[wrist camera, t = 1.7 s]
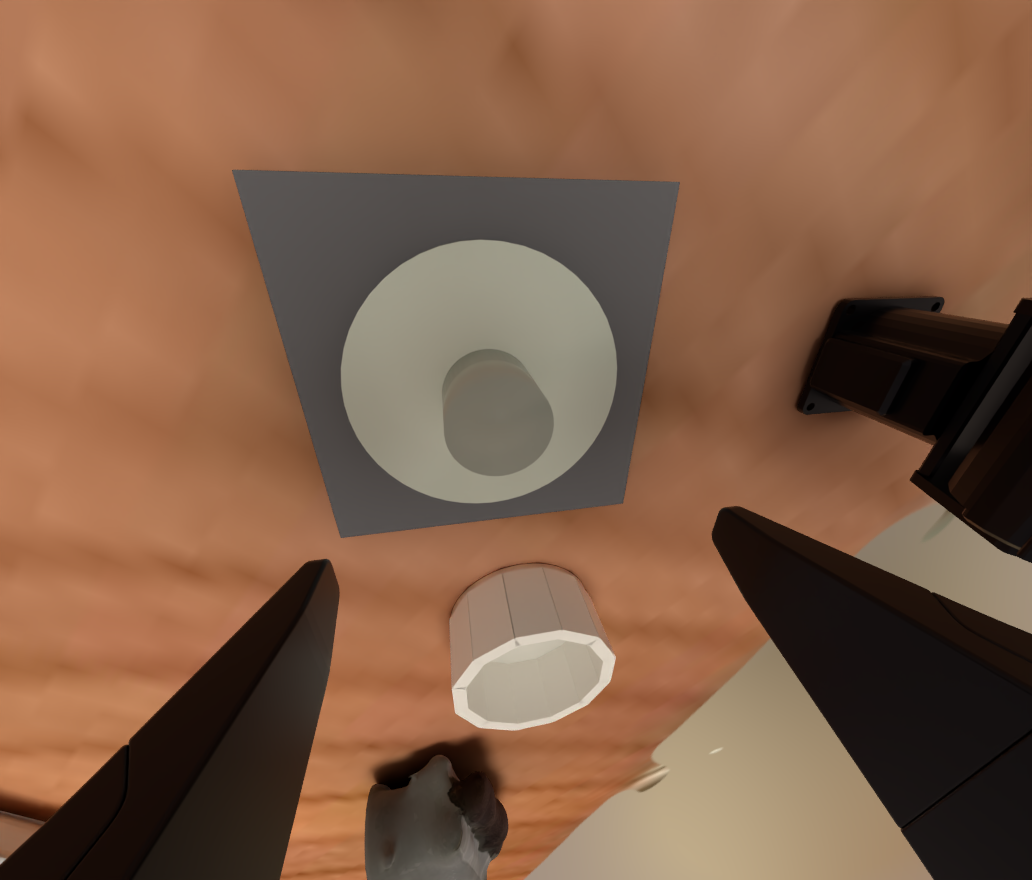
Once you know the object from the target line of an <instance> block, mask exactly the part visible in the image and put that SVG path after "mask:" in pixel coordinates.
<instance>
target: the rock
mask: <svg viewBox="0 0 1032 880" xmlns="http://www.w3.org/2000/svg"><path fill="white" fill-rule="evenodd" d="M408 778H411V780H410V782H409V785H408V786H406V787H403V788H400V789H395V790H390V788H389V787H388V786H385V785H383V784H375V785H373V786H372V788H371V790H370V793H369V796H368V802H367V808H366V819H365V870H366V874H367V880H487V868H488V865H489V863H490V862H491V861H492V860H493V859H494V858H496V857H497V856H498V854H499V853H500V850H501V848H502V845H503V841H504V840H505V838H506V836H507V832H508V818H507V814H506V811H505V809H504V807H503V805H502V804H501V803H500V801H499V800H498V799H497V798H496V797H495V794H494V790H493V787H492V785H491V783H490V781H489V779H488V778H487V777H486V775H485V773H483V772H474V773H472V774H471V775H470V776H468V777H467V778H466V779H465V780H463V781H460V780H459V779H458V778H457V776H456V774H455V772H454V770H453V769H452V765H451V762H450V760H449V759H448V758H447V757H445V756H443V755H436V756H434V757H433V758H432V759H431V760H430V761H429V763H428V764H427V765H426V766H425V767H424V768H423V769H422V770H420V771H419V772H417V773H415V774H413V775H411V776H409V777H408Z"/></svg>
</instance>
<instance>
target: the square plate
mask: <svg viewBox="0 0 1032 880" xmlns="http://www.w3.org/2000/svg"><path fill="white" fill-rule="evenodd" d="M44 823H45V822H43V821H40V820H36V819H32V818H28V817H24V816H20V815H16V814H12V813H8V812H4V811H0V864H1V863H2V862H3V861H4V860H6V859H7V858H8V857H9V856H10V855H11V854H12V853H13V852H14V851H15V850H16V849H17V848H18V847H19V846H21V845H22V844H23V843H24V842H25V841H26V840H27V839H28V838H29V837H30V836H31V835H32V834H33V833H35V832H36V831H37V830H38V829H39V828H40V827H41V826H42V825H43V824H44Z"/></svg>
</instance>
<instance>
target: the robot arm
mask: <svg viewBox="0 0 1032 880" xmlns="http://www.w3.org/2000/svg"><path fill="white" fill-rule="evenodd" d="M943 305H944V299H943V298H942V297H936V296H918V297H885V298H852V299H845V300H843V301H841V302H840V303H839V305H838V306H837V308H836V310H835V312H834V315H833V317H832V320H831V322H830V325H829V327H828V330H827V332H826V335H825V338H824V340H823V343H822V345H821V348H820V350H819V353H818V355H817V358H816V360H815V363H814V365H813V368H812V370H811V373H810V375H809V378H808V380H807V383H806V385H805V388H804V390H803V393H802V395H801V398H800V400H799V403H798V406H797V409H798V411H799V412H801V413H803V414H807V415H808V414H820V413H831V412H842V411H855V412H857V413H859V414H862V415H864V416H866V417H869V418H871V419H873V420H876V421H878V422H880V423H883V424H885V425H887V426H890V427H892V428H894V429H897V430H899V431H901V432H904V433H906V434H908V435H911V436H913V437H915V438H917V439H920V440H922V441H924V442H927V443H929V444H931V445H934V446H933V447H932V449H931V451H930V452H929V454H928V456H927V457H926V459H925V460H924V462H923V464H922V465H921V467H920V468H919V470H915V472H914V473H913V475H912V477H911V478H910V481H911V482H912V483H914V484H915V485H916V486H917V487H919V488H920V489H921V490H923V491H924V492H925V493H926V494H927V495H929V496H930V497H931V498H933V499H934V500H935V501H937V502H938V503H939V504H940V505H942V506H943V507H944V508H946V509H947V510H948V511H950V512H951V513H952V514H953V515H955V516H956V517H957V518H959V519H960V520H961V521H963V522H964V523H965V524H967V525H968V526H969V527H970V528H972V529H973V530H974V531H975V532H977V533H978V534H980V535H981V536H982V537H984V538H985V539H986V540H987V541H989V542H990V543H991V544H993V545H994V546H995V547H997V548H998V549H999V550H1001V551H1003V552H1005V553H1007V554H1010V555H1013V556H1017V557H1019V558H1021V559H1023V560H1026V561H1028V562H1031V563H1032V298H1022V299H1021V300H1020V302H1019V304H1018V305H1017V307H1016V309H1015V310H1014V313H1016V314H1015V316H1014V318H1013V319H1012V321H1011V322H1010V324H1003V323H997V322H991V321H985V320H979V319H973V318H967V317H960V316H954V315H948V314H942V313H940V311H941V309H942V307H943ZM712 540H713V543H714V545H715V546H716V548H717V550H718V552H719V554H720V556H721V557H722V559H723V561H724V563H725V565H726V566H727V568H728V570H729V572H730V574H731V576H732V577H733V579H734V581H735V583H736V585H737V586H738V588H739V590H740V592H741V593H742V595H743V597H744V599H745V600H746V602H747V603H748V605H749V606H750V608H751V610H752V611H753V612H754V614H755V615H756V617H757V618H758V620H759V621H760V623H761V624H762V626H763V627H764V629H765V630H766V632H767V633H768V635H769V636H770V638H771V639H772V641H773V642H774V643H775V645H776V647H777V648H778V649H779V651H780V652H781V654H782V655H783V657H784V658H785V660H786V661H787V663H788V664H789V666H790V667H791V669H792V670H793V671H794V673H795V675H796V676H797V678H798V679H799V681H800V682H801V683H802V685H803V686H804V688H805V689H806V691H807V692H808V694H809V695H810V697H811V698H812V700H813V701H814V703H815V704H816V706H817V707H818V709H819V710H820V712H821V713H822V714H823V716H824V717H825V719H826V720H827V722H828V723H829V725H830V726H831V728H832V729H833V730H834V732H835V734H836V735H837V737H838V738H839V739H840V741H841V743H842V744H843V746H844V747H845V748H846V750H847V752H848V753H849V754H850V756H851V757H852V759H853V760H854V762H855V763H856V765H857V766H858V768H859V769H860V771H861V772H862V774H863V775H864V777H865V778H866V780H867V781H868V783H869V784H870V786H871V787H872V788H873V790H874V791H875V793H876V794H877V796H878V797H879V799H880V800H881V802H882V803H883V805H884V806H885V808H886V809H887V811H888V812H889V814H890V815H891V817H892V818H893V820H894V821H895V823H896V824H897V825H898V827H900V828H901V832H902V833H903V835H904V836H905V838H906V839H907V841H908V842H909V844H910V845H911V847H912V848H913V850H914V851H915V853H916V854H917V855H918V857H919V859H920V860H921V862H922V863H923V864H924V866H925V867H926V869H927V870H928V872H929V873H930V875H931V876H932V878H933V879H934V880H1032V634H1030V633H1028V632H1025V631H1023V630H1021V629H1018V628H1016V627H1013V626H1010V625H1008V624H1006V623H1003V622H1001V621H998V620H996V619H994V618H992V617H989V616H987V615H985V614H982V613H980V612H978V611H975V610H973V609H971V608H968V607H966V606H963V605H961V604H959V603H957V602H955V601H952V600H950V599H948V598H946V597H943V596H941V595H938V594H936V593H933V592H932V593H931V592H930V591H929V590H927V589H925V588H923V587H921V586H918V585H916V584H914V583H912V582H909V581H907V580H905V579H902V578H900V577H898V576H895V575H894V574H891V573H889V572H887V571H884V570H882V569H880V568H878V567H875V566H873V565H871V564H869V563H866V562H864V561H862V560H860V559H857V558H855V557H853V556H851V555H848V554H846V553H844V552H842V551H839V550H837V549H835V548H833V547H830V546H828V545H826V544H824V543H821V542H819V541H817V540H815V539H812V538H810V537H808V536H805V535H803V534H801V533H799V532H796V531H794V530H792V529H790V528H787V527H785V526H783V525H781V524H778V523H776V522H774V521H772V520H769V519H767V518H765V517H763V516H760V515H758V514H756V513H754V512H751V511H749V510H747V509H745V508H742V507H739V506H732V507H725V508H722V509H721V510H720V511H719V513H718V516H717V519H716V522H715V525H714V528H713V531H712ZM338 604H339V585H338V582H337V579H336V576H335V573H334V570H333V566H332V564H331V562H330V561H329V560H328V559H321V560H313V561H309V562H307V563H305V564H304V565H303V566H302V567H301V568H300V569H299V570H298V571H297V572H296V573H295V574H294V575H293V576H292V577H291V578H290V579H289V580H288V581H287V582H286V583H285V584H284V585H283V586H282V587H281V588H280V589H279V590H278V591H277V592H276V593H275V594H274V595H273V596H272V597H271V598H270V599H269V600H268V601H267V602H266V603H265V604H264V605H263V606H262V607H261V608H260V609H259V610H258V611H257V612H256V613H255V614H254V615H253V616H252V617H251V618H250V619H249V620H248V621H247V622H246V623H245V624H244V625H243V626H242V627H241V628H240V629H239V630H238V631H237V632H236V633H235V634H234V635H233V636H232V637H231V638H230V639H229V640H228V641H227V642H226V643H225V644H224V645H223V646H222V647H221V648H220V649H219V650H218V651H217V652H216V653H215V654H214V655H213V656H212V657H211V658H210V659H209V660H208V661H207V662H206V663H205V664H204V665H203V666H202V667H201V668H200V669H199V670H198V671H197V672H196V673H195V674H194V675H193V676H192V677H191V678H190V679H189V680H188V681H187V682H186V683H185V684H184V685H183V686H182V687H181V688H180V689H179V690H178V691H177V692H176V693H175V694H174V695H173V696H172V697H171V698H170V699H169V700H168V701H167V702H166V703H165V704H164V705H163V706H162V707H161V708H160V709H159V710H158V711H157V712H156V713H155V714H154V715H153V716H152V717H151V718H150V719H149V720H148V721H147V722H146V723H145V725H144V726H143V727H142V728H141V729H140V730H139V731H138V732H137V733H136V734H135V735H134V736H133V737H132V738H131V739H130V740H129V745H124V746H122V747H121V748H120V749H119V750H118V751H117V752H116V753H115V754H114V755H113V756H112V757H111V758H110V759H109V760H108V761H107V762H106V763H105V764H104V765H103V766H102V767H101V768H100V769H99V770H98V771H97V772H96V773H95V774H94V775H93V776H92V777H91V778H90V779H89V780H88V781H87V782H86V783H85V784H84V785H83V786H82V787H81V788H80V789H79V790H78V791H77V792H76V793H75V794H74V795H73V796H72V797H71V798H70V799H69V800H68V801H67V802H66V803H65V804H64V805H63V806H62V807H61V808H60V809H59V810H58V811H57V812H56V813H54V814H53V815H52V816H51V817H50V818H49V819H48V820H47V821H46V822H45V823H44V824H43V825H42V826H41V827H40V828H39V829H38V830H37V831H36V832H35V833H33V834H32V835H31V836H30V837H29V838H28V839H27V840H26V841H25V842H24V843H23V844H22V845H21V846H19V847H18V848H17V849H16V850H15V851H14V852H13V853H12V854H11V855H10V856H9V857H8V858H7V859H6V860H4V861H3V862H2V863H1V864H0V880H280V876H281V872H282V867H283V863H284V859H285V855H286V851H287V847H288V843H289V839H290V834H291V830H292V826H293V822H294V818H295V814H296V810H297V805H298V801H299V797H300V793H301V789H302V785H303V781H304V777H305V772H306V768H307V764H308V760H309V756H310V752H311V748H312V744H313V739H314V735H315V731H316V727H317V723H318V719H319V715H320V710H321V706H322V702H323V698H324V694H325V690H326V686H327V681H328V676H329V672H330V665H331V658H332V650H333V642H334V635H335V627H336V619H337V611H338Z"/></svg>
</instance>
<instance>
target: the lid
mask: <svg viewBox="0 0 1032 880" xmlns="http://www.w3.org/2000/svg"><path fill="white" fill-rule="evenodd" d="M616 377H617V359H616V349H615V344H614V339H613V335H612V332H611V329H610V326H609V323H608V320H607V318H606V316H605V314H604V312H603V310H602V308H601V306H600V304H599V303H598V301H597V300H596V298H595V297H594V296H593V294H592V293H591V291H590V290H589V288H588V287H587V286H586V285H585V284H584V283H583V282H582V281H581V280H580V279H579V278H578V277H577V276H576V275H575V274H574V273H572V272H571V271H570V270H569V269H567V268H566V267H565V266H564V265H562V264H561V263H559V262H558V261H556V260H554V259H552V258H551V257H549V256H547V255H545V254H543V253H541V252H539V251H536V250H533V249H531V248H528V247H526V246H522V245H518V244H513V243H509V242H504V241H495V240H481V239H478V240H465V241H457V242H452V243H448V244H444V245H439V246H437V247H434V248H432V249H429V250H427V251H424V252H422V253H419V254H418V255H416V256H414V257H412V258H411V259H409V260H407V261H406V262H404V263H402V264H401V265H400V266H398V267H397V268H396V269H395V270H393V271H392V272H391V273H390V274H388V275H387V276H386V277H385V278H384V279H383V280H382V281H381V282H380V283H379V284H378V285H377V287H376V288H375V289H374V290H373V291H372V292H371V293H370V294H369V296H368V297H367V298H366V300H365V301H364V303H363V304H362V306H361V307H360V309H359V310H358V312H357V314H356V316H355V318H354V321H353V323H352V325H351V327H350V329H349V332H348V335H347V339H346V342H345V345H344V349H343V356H342V364H341V388H342V394H343V401H344V406H345V409H346V412H347V415H348V418H349V421H350V423H351V426H352V428H353V430H354V432H355V434H356V436H357V438H358V439H359V441H360V442H361V444H362V445H363V447H364V448H365V450H366V451H367V452H368V454H369V455H370V456H371V457H372V458H373V459H374V460H375V462H376V463H377V464H378V465H379V466H380V467H382V468H383V469H384V470H385V471H386V472H387V473H388V474H389V475H391V476H392V477H394V478H395V479H397V480H398V481H400V482H401V483H403V484H404V485H406V486H408V487H410V488H412V489H414V490H416V491H418V492H421V493H423V494H426V495H428V496H431V497H435V498H439V499H442V500H446V501H453V502H460V503H491V502H498V501H503V500H508V499H512V498H516V497H519V496H522V495H525V494H527V493H530V492H532V491H535V490H537V489H539V488H541V487H543V486H545V485H547V484H549V483H550V482H552V481H553V480H555V479H556V478H558V477H559V476H561V475H562V474H563V473H565V472H566V471H567V470H568V469H569V468H571V467H572V466H573V465H574V464H575V463H576V462H577V461H578V460H579V459H580V458H581V457H582V456H583V455H584V454H585V452H586V451H587V450H588V449H589V447H590V446H591V445H592V444H593V442H594V441H595V439H596V437H597V436H598V434H599V432H600V431H601V429H602V427H603V425H604V423H605V421H606V418H607V416H608V414H609V411H610V408H611V405H612V402H613V397H614V392H615V387H616Z"/></svg>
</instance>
